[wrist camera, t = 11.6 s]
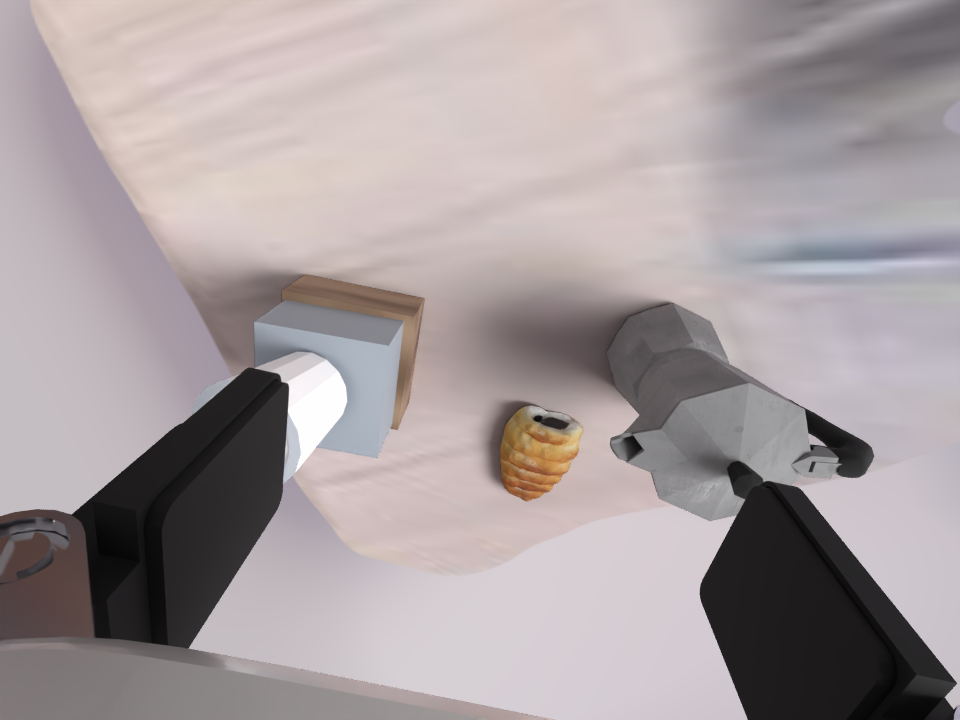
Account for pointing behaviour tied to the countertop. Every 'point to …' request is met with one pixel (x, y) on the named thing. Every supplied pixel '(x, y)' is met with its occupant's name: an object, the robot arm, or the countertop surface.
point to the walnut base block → (371, 304)
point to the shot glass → (300, 402)
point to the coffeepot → (714, 419)
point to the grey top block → (341, 365)
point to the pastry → (537, 450)
